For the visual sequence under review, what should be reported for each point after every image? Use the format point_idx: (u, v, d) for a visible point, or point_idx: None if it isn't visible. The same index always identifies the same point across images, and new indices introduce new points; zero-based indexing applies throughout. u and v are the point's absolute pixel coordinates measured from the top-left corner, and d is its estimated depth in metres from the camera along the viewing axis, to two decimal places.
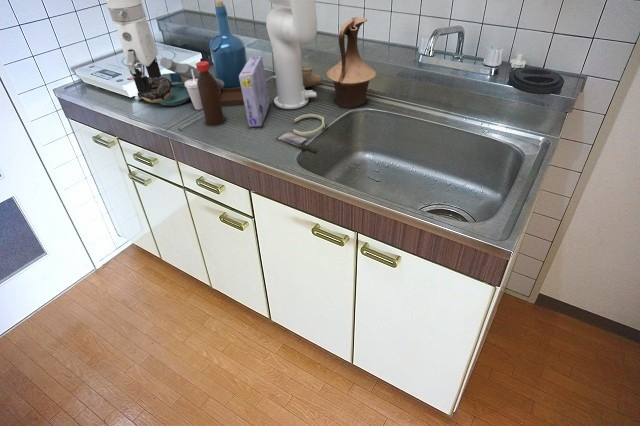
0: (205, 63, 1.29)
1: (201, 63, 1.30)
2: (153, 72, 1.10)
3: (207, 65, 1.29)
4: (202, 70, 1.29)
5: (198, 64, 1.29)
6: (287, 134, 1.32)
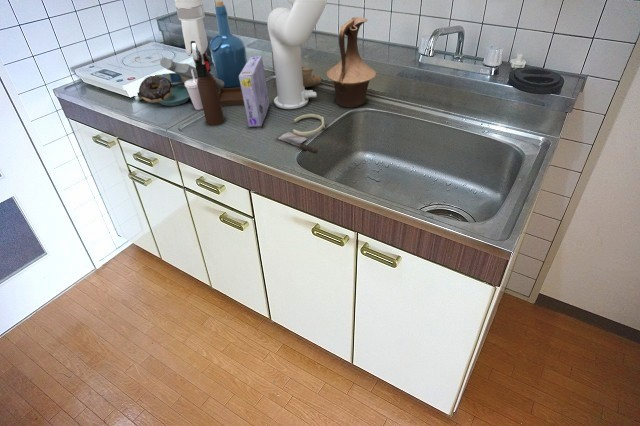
0: (205, 63, 1.29)
1: None
2: None
3: (207, 65, 1.29)
4: None
5: None
6: (287, 134, 1.32)
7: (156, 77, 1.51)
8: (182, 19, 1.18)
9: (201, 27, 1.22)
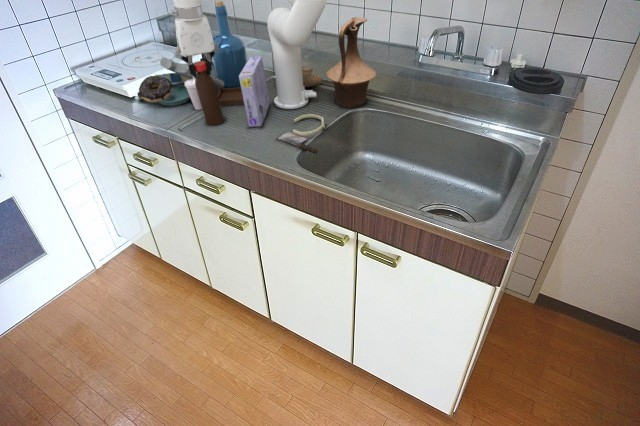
0: (199, 62, 1.30)
1: (199, 63, 1.29)
2: (206, 69, 1.31)
3: None
4: None
5: (202, 63, 1.29)
6: (287, 134, 1.32)
7: (156, 77, 1.51)
8: (202, 16, 1.21)
9: None
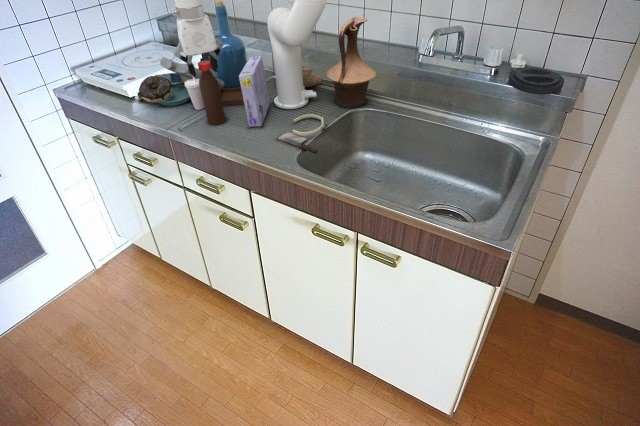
0: (203, 61, 1.31)
1: (204, 62, 1.30)
2: (212, 66, 1.32)
3: None
4: None
5: (207, 63, 1.29)
6: (287, 134, 1.32)
7: (156, 77, 1.51)
8: (204, 15, 1.21)
9: None
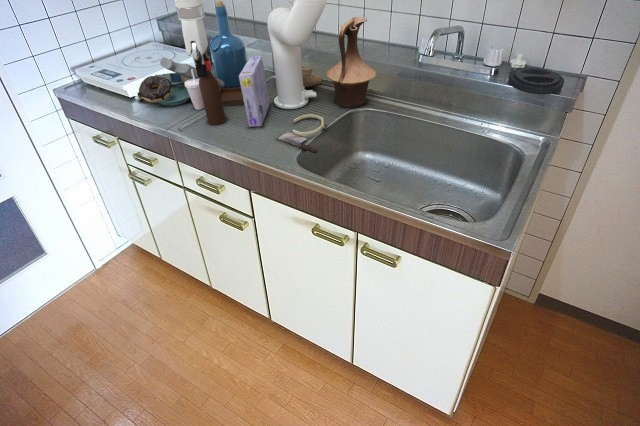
0: None
1: (204, 62, 1.29)
2: None
3: None
4: None
5: (207, 63, 1.29)
6: (287, 134, 1.32)
7: (156, 77, 1.51)
8: (182, 19, 1.18)
9: (201, 27, 1.22)
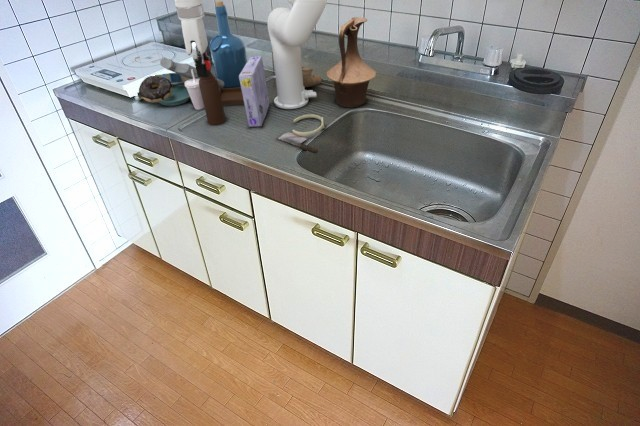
0: None
1: (204, 62, 1.30)
2: None
3: None
4: None
5: (204, 60, 1.30)
6: (287, 134, 1.32)
7: (156, 77, 1.51)
8: (182, 18, 1.18)
9: (201, 26, 1.22)
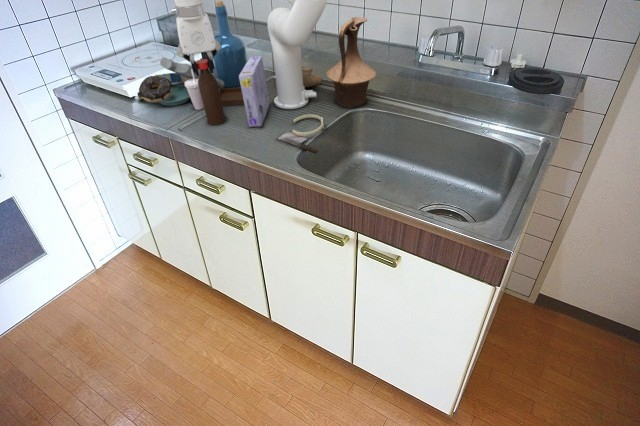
0: (202, 60, 1.31)
1: (201, 61, 1.30)
2: (209, 67, 1.31)
3: None
4: None
5: (204, 62, 1.29)
6: (287, 134, 1.32)
7: (156, 77, 1.51)
8: (203, 14, 1.20)
9: None
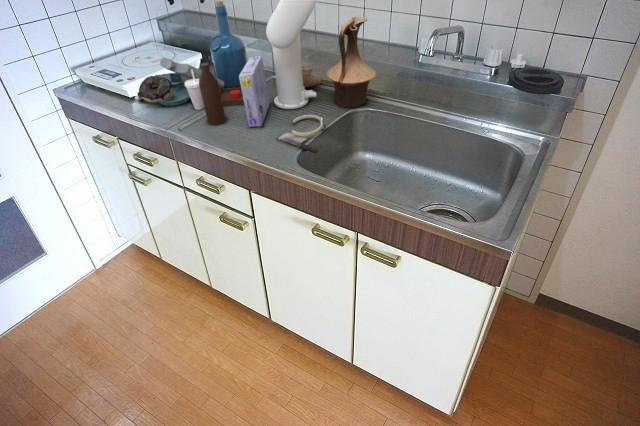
0: (236, 90, 1.56)
1: (235, 92, 1.55)
2: None
3: None
4: (240, 95, 1.56)
5: (236, 92, 1.54)
6: (287, 134, 1.32)
7: (156, 77, 1.51)
8: None
9: None
